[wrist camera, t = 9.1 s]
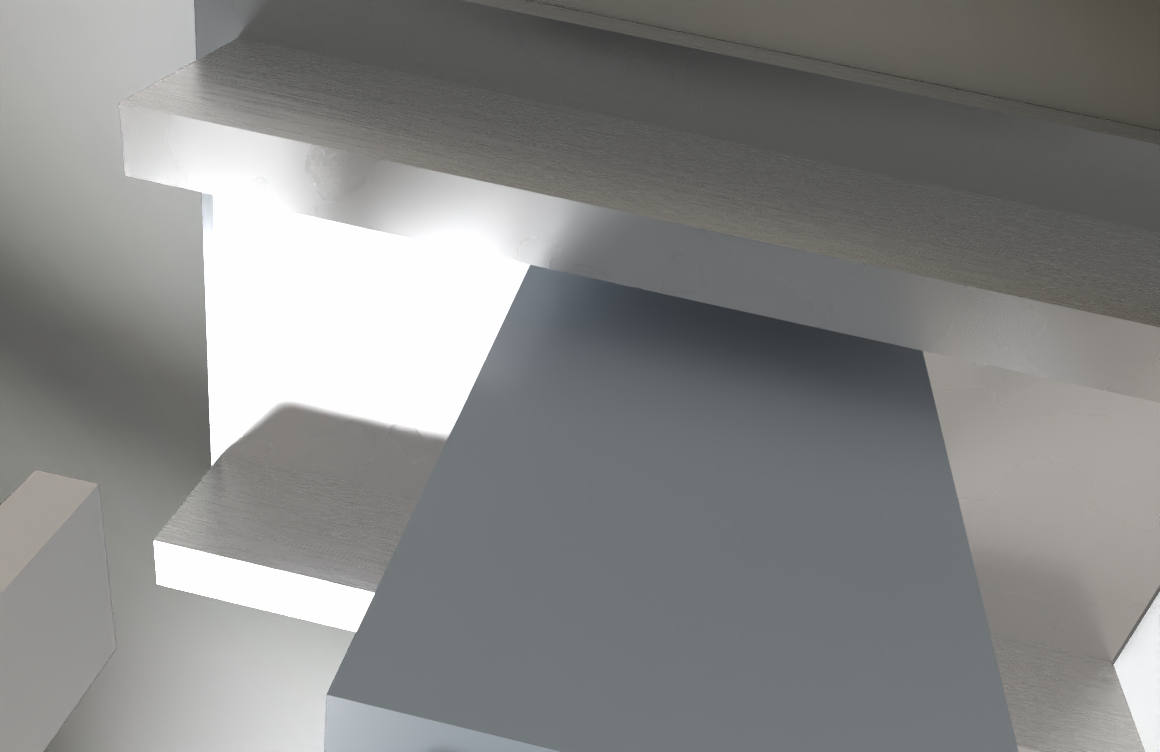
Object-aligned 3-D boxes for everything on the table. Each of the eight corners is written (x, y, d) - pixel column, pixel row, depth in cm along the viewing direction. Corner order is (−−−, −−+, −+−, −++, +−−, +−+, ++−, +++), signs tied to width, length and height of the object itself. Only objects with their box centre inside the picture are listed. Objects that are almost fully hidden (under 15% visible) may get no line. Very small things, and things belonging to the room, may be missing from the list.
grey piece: (230, 481, 22) (124, 625, 19) (216, -64, 16) (56, -9, 13) (1075, 679, 21) (1136, 871, 18) (1380, 176, 15) (1566, 308, 12)
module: (502, 475, 19) (304, 1007, 11) (536, 250, 16) (313, 723, 8) (833, 551, 18) (876, 1155, 11) (918, 333, 16) (1056, 906, 8)
